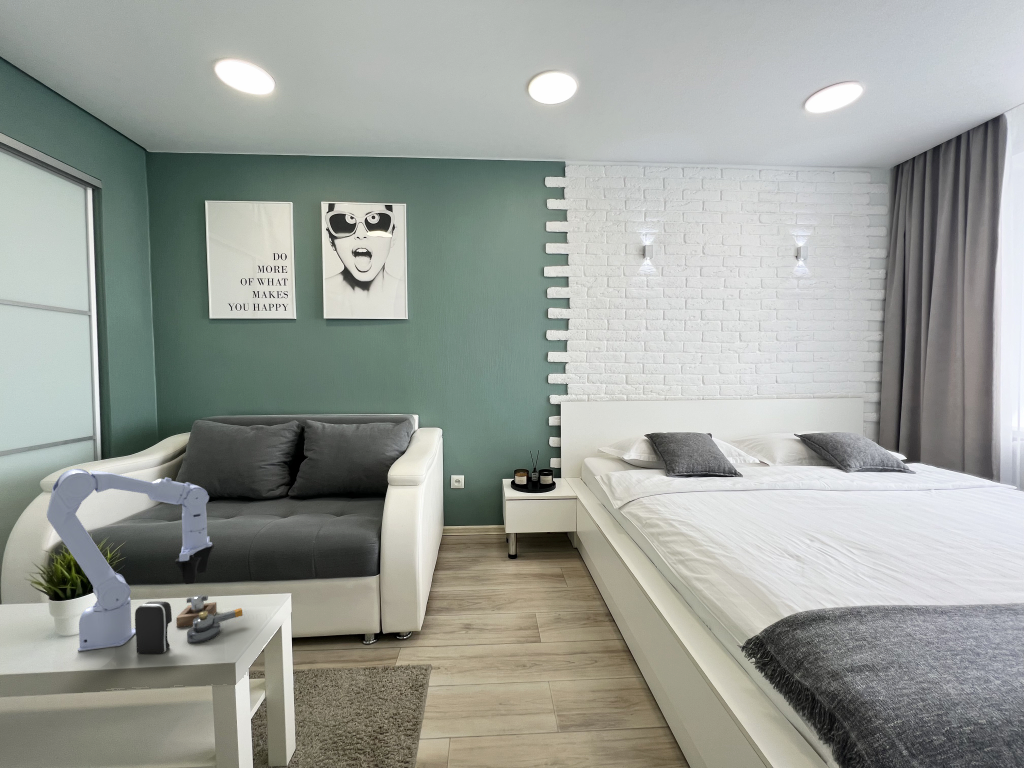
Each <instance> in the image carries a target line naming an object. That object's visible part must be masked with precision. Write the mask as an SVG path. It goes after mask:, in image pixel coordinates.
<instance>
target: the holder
mask: <svg viewBox="0 0 1024 768" xmlns="http://www.w3.org/2000/svg"><path fill="white" fill-rule="evenodd" d="M217 609H218V608H217V601H214V602H206V603H205V602H204V611H208V614H212V615H214V616H215V614H216V613H217V611H218V610H217ZM197 617H199V613H193V614H192V613H191V604H190V605H189V604H188V605H187V607H185V608H184V609H183V610H182V611H181V612H180V613H179V614H178V615H177V617H175V618H176V620H175V621H176V628H184V627H191V626H192V627H193V620H194V619H195V618H197Z"/></svg>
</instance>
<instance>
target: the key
mask: <svg viewBox="0 0 1024 768" xmlns="http://www.w3.org/2000/svg"><path fill="white" fill-rule="evenodd" d="M208 600H209V595H203V594H198V595H197V594H196V595H194V596H192V597H188V598H186V604H188V603H189V604H190V605H191V613H192V614H193V613H200V612H202V611H204V604H205V602H207V601H208Z"/></svg>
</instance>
